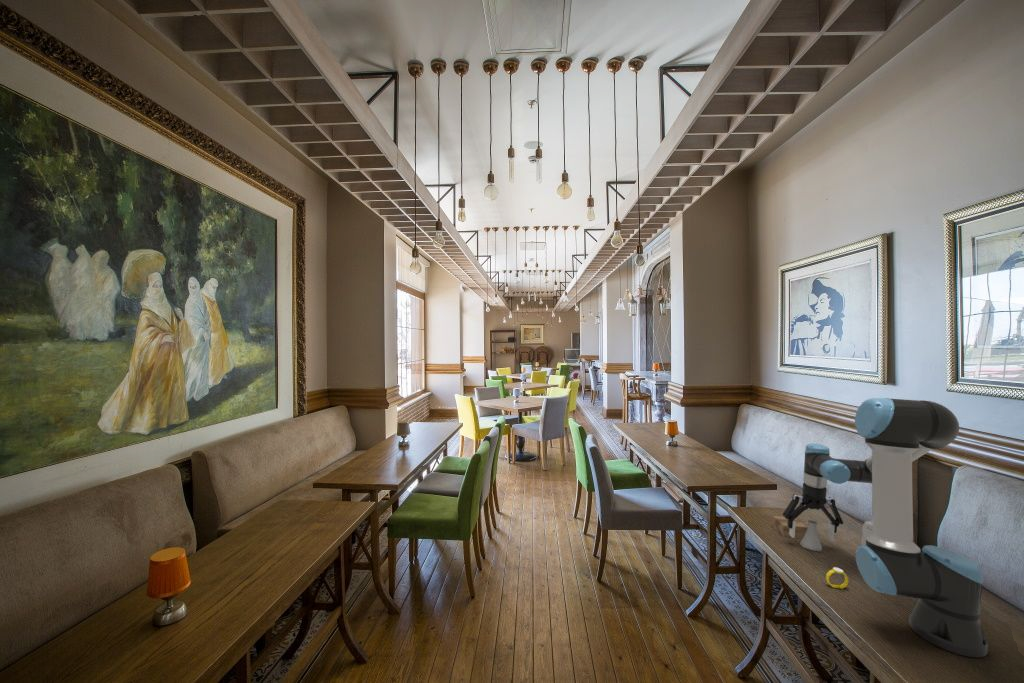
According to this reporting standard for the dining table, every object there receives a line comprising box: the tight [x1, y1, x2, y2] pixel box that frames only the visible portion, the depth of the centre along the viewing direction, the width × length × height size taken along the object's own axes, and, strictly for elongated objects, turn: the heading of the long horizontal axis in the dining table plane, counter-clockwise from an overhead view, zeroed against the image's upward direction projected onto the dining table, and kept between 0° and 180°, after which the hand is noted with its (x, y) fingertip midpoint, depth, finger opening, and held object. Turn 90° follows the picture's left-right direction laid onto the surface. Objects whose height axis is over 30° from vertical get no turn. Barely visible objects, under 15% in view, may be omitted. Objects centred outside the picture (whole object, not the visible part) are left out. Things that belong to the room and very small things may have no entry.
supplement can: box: [860, 520, 873, 546], centre depth 152 cm, size 8×8×15 cm
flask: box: [799, 519, 823, 552], centre depth 165 cm, size 7×7×10 cm
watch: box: [825, 566, 849, 590], centre depth 139 cm, size 6×3×6 cm, turn 80°
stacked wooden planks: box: [771, 515, 808, 540], centre depth 176 cm, size 9×9×5 cm
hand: (811, 538), depth 165 cm, fingers open, 13 cm apart
